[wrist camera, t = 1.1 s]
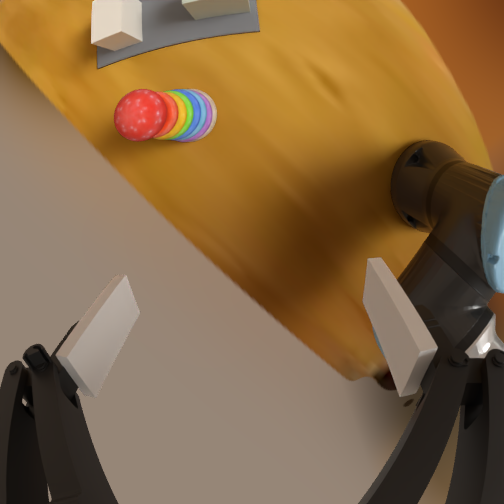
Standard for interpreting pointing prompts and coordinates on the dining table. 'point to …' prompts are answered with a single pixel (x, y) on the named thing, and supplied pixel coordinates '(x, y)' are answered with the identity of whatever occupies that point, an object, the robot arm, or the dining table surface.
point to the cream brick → (116, 23)
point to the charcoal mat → (178, 28)
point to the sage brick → (215, 7)
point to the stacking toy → (165, 115)
